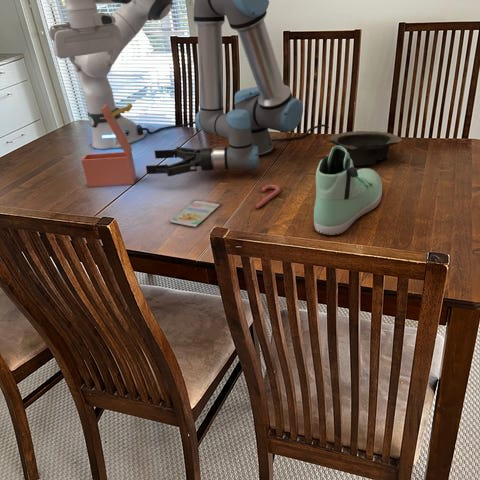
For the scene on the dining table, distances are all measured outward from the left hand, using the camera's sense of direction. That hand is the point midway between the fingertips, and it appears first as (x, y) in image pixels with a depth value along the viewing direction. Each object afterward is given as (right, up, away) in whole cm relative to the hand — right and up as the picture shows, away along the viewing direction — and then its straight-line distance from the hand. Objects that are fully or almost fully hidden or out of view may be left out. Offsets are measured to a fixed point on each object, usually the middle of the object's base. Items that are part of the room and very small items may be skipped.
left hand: (94, 69), depth 147 cm
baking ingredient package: (+32, -45, -5) cm, 55 cm away
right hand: (+14, -26, +16) cm, 34 cm away
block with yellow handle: (+4, -17, +10) cm, 20 cm away
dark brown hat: (+89, -23, +23) cm, 94 cm away
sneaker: (+76, -43, -8) cm, 88 cm away
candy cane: (+53, -40, +1) cm, 66 cm away
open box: (0, -32, +20) cm, 38 cm away
